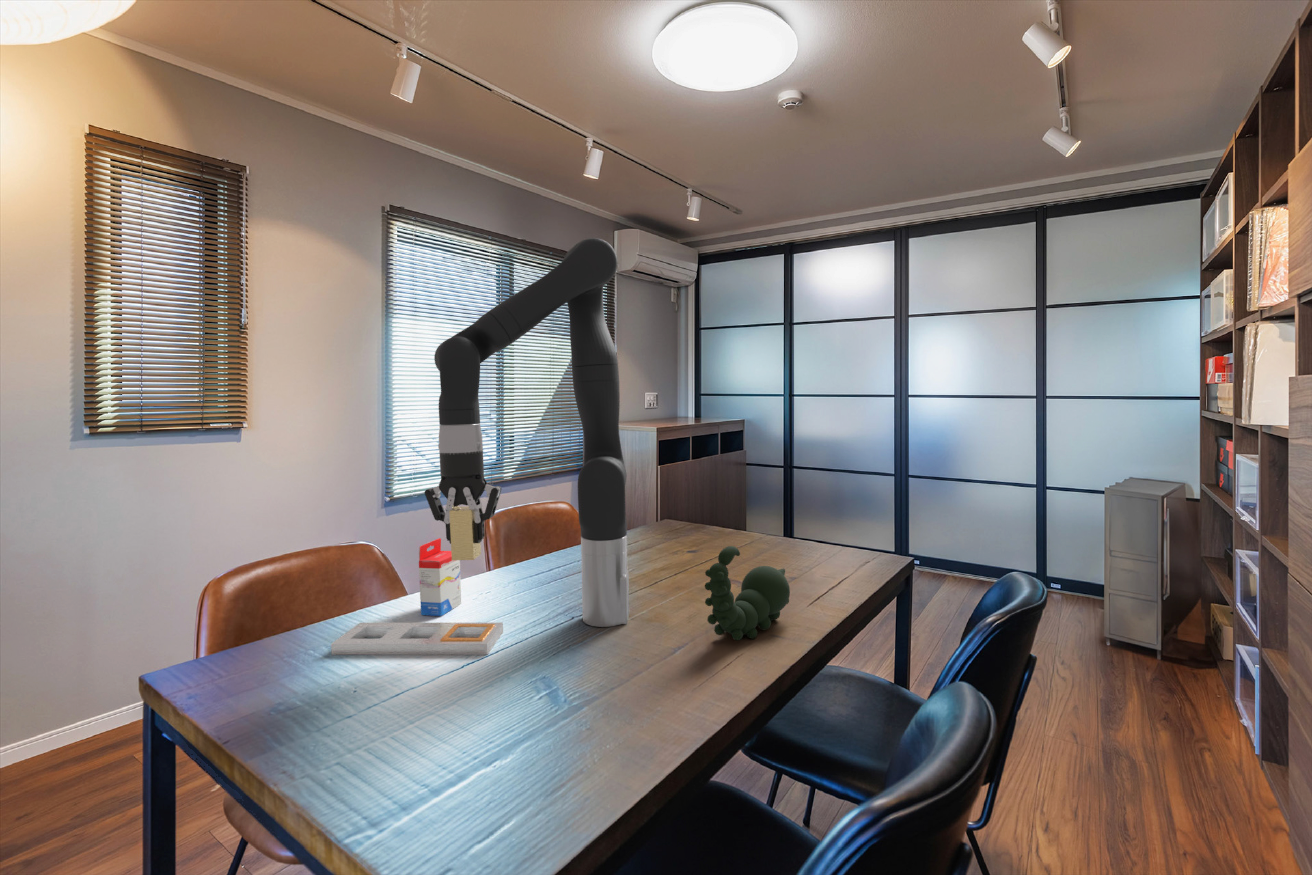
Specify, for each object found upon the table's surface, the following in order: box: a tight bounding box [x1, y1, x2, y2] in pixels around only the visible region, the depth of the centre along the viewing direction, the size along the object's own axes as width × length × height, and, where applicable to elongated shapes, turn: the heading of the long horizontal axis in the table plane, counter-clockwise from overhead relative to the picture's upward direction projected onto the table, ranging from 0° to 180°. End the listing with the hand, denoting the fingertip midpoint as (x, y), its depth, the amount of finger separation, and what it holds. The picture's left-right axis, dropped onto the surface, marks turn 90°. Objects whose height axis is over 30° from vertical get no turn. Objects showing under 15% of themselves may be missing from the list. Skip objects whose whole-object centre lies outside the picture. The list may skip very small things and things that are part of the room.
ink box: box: [418, 537, 462, 617], centre depth 131 cm, size 8×5×15 cm, turn 168°
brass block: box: [449, 506, 482, 561], centre depth 112 cm, size 4×4×9 cm
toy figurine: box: [704, 545, 791, 641], centre depth 118 cm, size 9×19×25 cm
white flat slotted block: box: [330, 622, 504, 656], centre depth 114 cm, size 28×10×2 cm, turn 88°
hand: (465, 542), depth 112 cm, fingers closed on brass block, 4 cm apart
